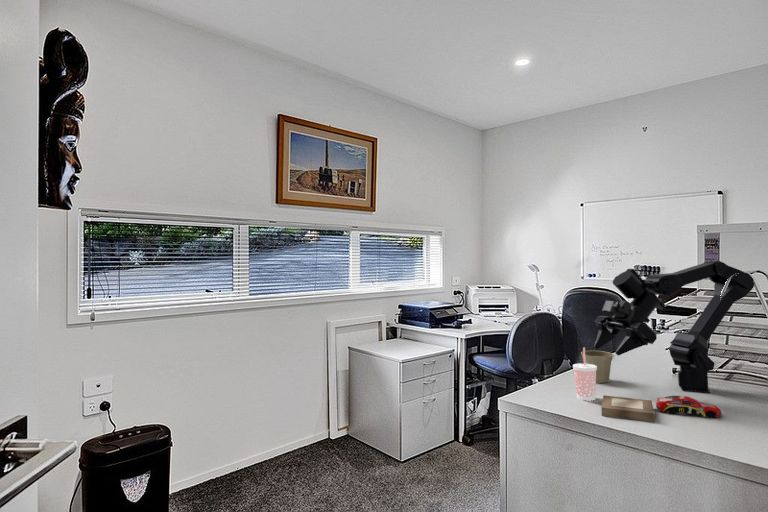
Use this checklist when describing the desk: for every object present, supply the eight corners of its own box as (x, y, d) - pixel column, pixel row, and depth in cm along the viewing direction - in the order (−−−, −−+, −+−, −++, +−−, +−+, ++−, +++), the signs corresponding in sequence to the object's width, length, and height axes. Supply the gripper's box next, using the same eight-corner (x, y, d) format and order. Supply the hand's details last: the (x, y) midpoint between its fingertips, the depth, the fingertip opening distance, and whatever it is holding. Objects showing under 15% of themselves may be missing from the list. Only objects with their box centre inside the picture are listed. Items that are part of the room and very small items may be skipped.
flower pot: (621, 384, 136) (619, 356, 136) (589, 385, 136) (588, 356, 136) (606, 376, 145) (605, 350, 145) (577, 377, 145) (576, 351, 145)
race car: (718, 414, 109) (718, 397, 109) (723, 421, 104) (723, 404, 104) (655, 407, 115) (655, 391, 115) (657, 413, 110) (657, 397, 110)
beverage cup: (578, 394, 127) (577, 344, 128) (601, 398, 123) (599, 347, 123) (570, 399, 123) (568, 348, 123) (593, 403, 119) (591, 350, 119)
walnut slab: (651, 408, 113) (651, 399, 113) (654, 422, 104) (653, 413, 104) (603, 402, 119) (603, 395, 119) (601, 415, 109) (601, 407, 109)
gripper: (599, 288, 135) (567, 327, 133) (645, 292, 116) (608, 336, 114) (623, 313, 136) (592, 352, 134) (672, 321, 117) (637, 365, 115)
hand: (605, 351), depth 124 cm, fingers open, 9 cm apart
